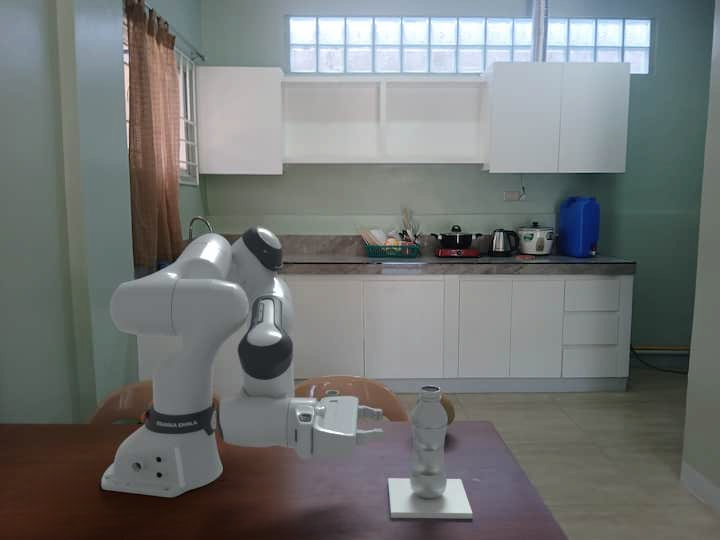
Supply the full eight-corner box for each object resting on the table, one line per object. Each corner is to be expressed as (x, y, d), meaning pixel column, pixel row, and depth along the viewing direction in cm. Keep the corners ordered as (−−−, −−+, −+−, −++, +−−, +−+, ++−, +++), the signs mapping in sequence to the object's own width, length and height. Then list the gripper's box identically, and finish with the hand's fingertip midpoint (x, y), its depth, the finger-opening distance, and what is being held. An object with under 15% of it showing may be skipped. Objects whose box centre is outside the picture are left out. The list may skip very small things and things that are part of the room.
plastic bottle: (448, 503, 103) (452, 395, 100) (410, 503, 103) (412, 394, 100) (444, 485, 109) (447, 383, 107) (408, 485, 109) (410, 382, 107)
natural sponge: (437, 422, 142) (438, 383, 141) (462, 435, 134) (463, 393, 133) (407, 430, 137) (408, 389, 136) (432, 444, 130) (433, 401, 128)
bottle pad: (391, 517, 100) (391, 512, 100) (388, 483, 112) (388, 478, 112) (472, 518, 100) (472, 513, 100) (460, 483, 112) (460, 479, 112)
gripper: (312, 417, 116) (381, 419, 115) (299, 464, 95) (383, 466, 95) (312, 387, 115) (382, 388, 115) (299, 427, 94) (384, 429, 94)
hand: (383, 424), depth 105 cm, fingers open, 8 cm apart
